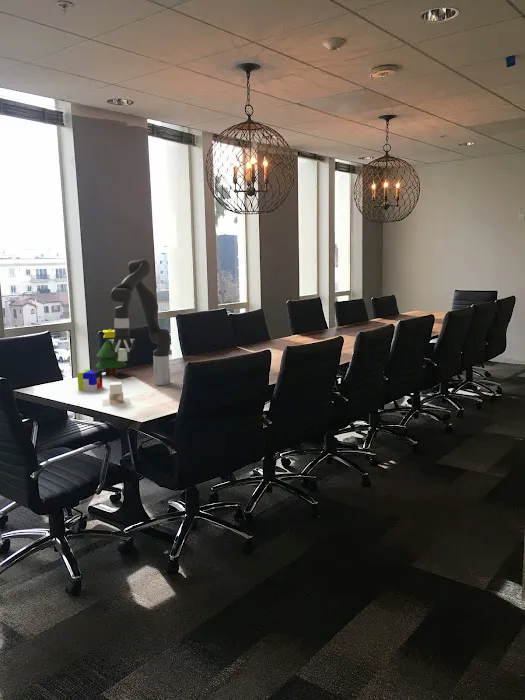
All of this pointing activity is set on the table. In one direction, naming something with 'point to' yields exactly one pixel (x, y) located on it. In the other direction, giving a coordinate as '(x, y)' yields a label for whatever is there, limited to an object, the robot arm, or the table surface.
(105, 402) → the felt mat
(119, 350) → the pale green block
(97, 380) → the puzzle toy
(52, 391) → the table surface
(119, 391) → the tower mid
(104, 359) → the decorative tree
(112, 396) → the tower base
